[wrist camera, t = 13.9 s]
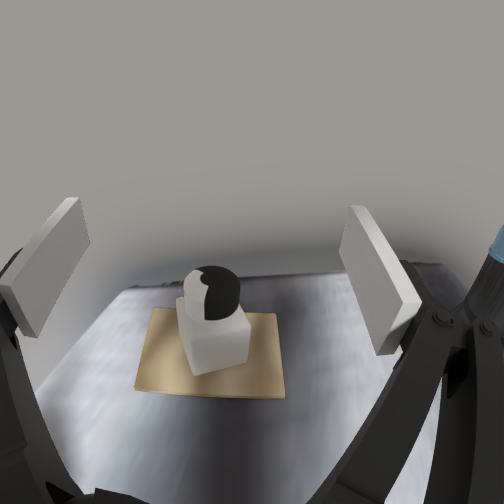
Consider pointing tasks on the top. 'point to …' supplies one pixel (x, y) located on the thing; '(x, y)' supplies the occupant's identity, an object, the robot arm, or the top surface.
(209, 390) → the cork mat
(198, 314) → the medicine bottle
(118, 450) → the top surface
